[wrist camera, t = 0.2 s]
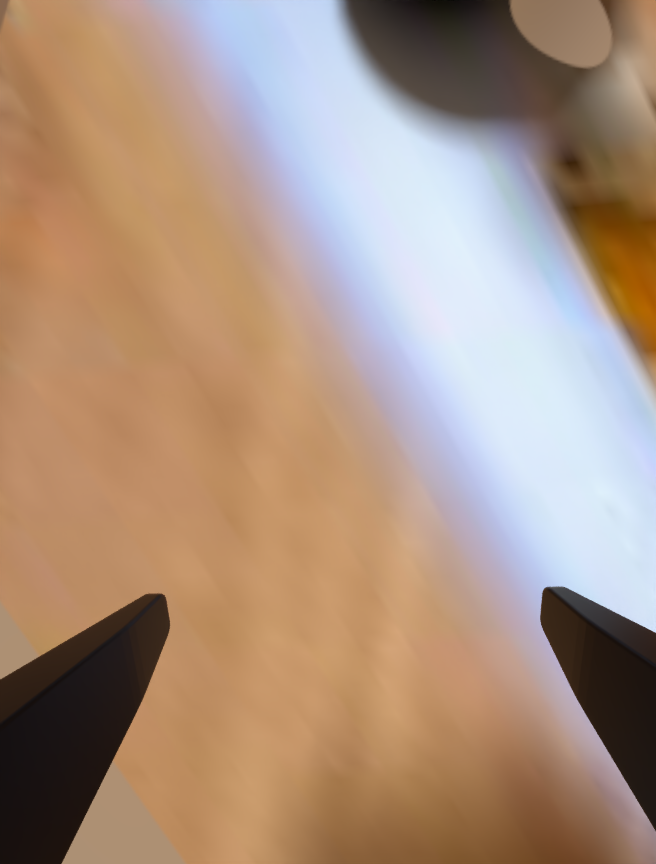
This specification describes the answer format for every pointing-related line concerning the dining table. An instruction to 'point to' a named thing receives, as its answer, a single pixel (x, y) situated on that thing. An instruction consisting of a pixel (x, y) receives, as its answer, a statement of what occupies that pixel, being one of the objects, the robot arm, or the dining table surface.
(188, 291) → the dining table surface
